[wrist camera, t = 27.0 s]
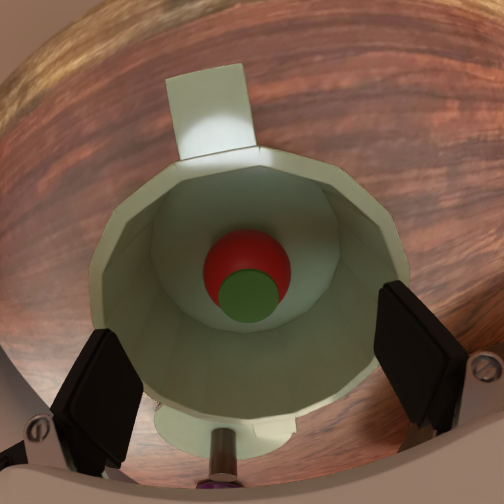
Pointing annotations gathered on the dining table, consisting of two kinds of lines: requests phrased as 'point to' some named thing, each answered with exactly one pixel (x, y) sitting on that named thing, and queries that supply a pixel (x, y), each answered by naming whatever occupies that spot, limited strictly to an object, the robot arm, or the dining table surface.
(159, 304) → the pot
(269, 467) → the dining table surface
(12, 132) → the dining table surface
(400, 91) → the dining table surface
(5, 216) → the dining table surface
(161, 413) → the lid
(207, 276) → the tomato
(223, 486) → the beverage can
